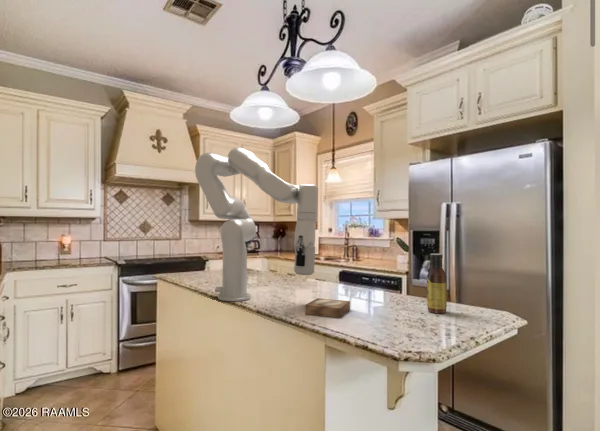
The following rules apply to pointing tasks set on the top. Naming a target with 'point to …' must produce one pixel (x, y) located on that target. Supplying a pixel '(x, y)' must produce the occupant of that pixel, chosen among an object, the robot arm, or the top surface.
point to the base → (327, 307)
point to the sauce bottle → (436, 286)
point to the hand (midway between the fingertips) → (304, 264)
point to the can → (306, 261)
